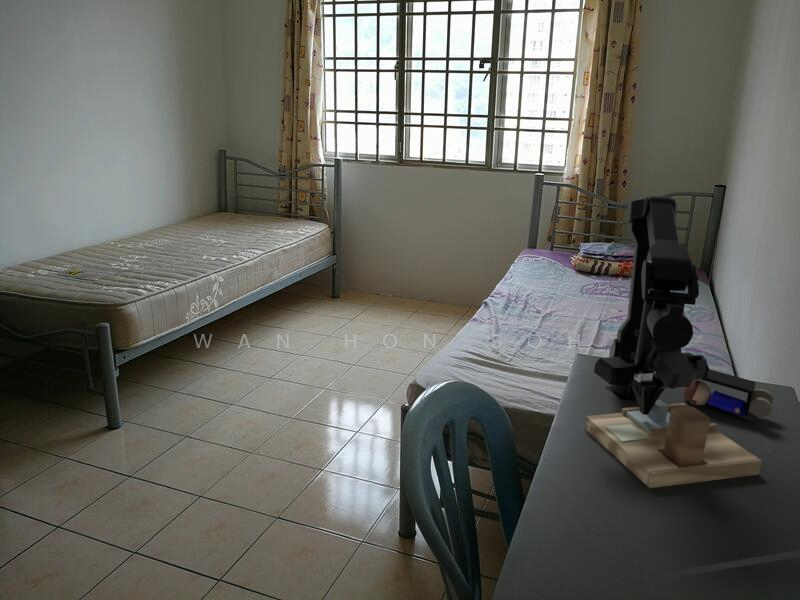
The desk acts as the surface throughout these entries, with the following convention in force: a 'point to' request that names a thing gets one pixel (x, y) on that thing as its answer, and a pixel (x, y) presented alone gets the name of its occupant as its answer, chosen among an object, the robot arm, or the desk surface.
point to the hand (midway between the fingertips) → (644, 413)
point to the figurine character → (755, 402)
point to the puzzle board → (647, 450)
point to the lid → (651, 417)
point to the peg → (686, 436)
